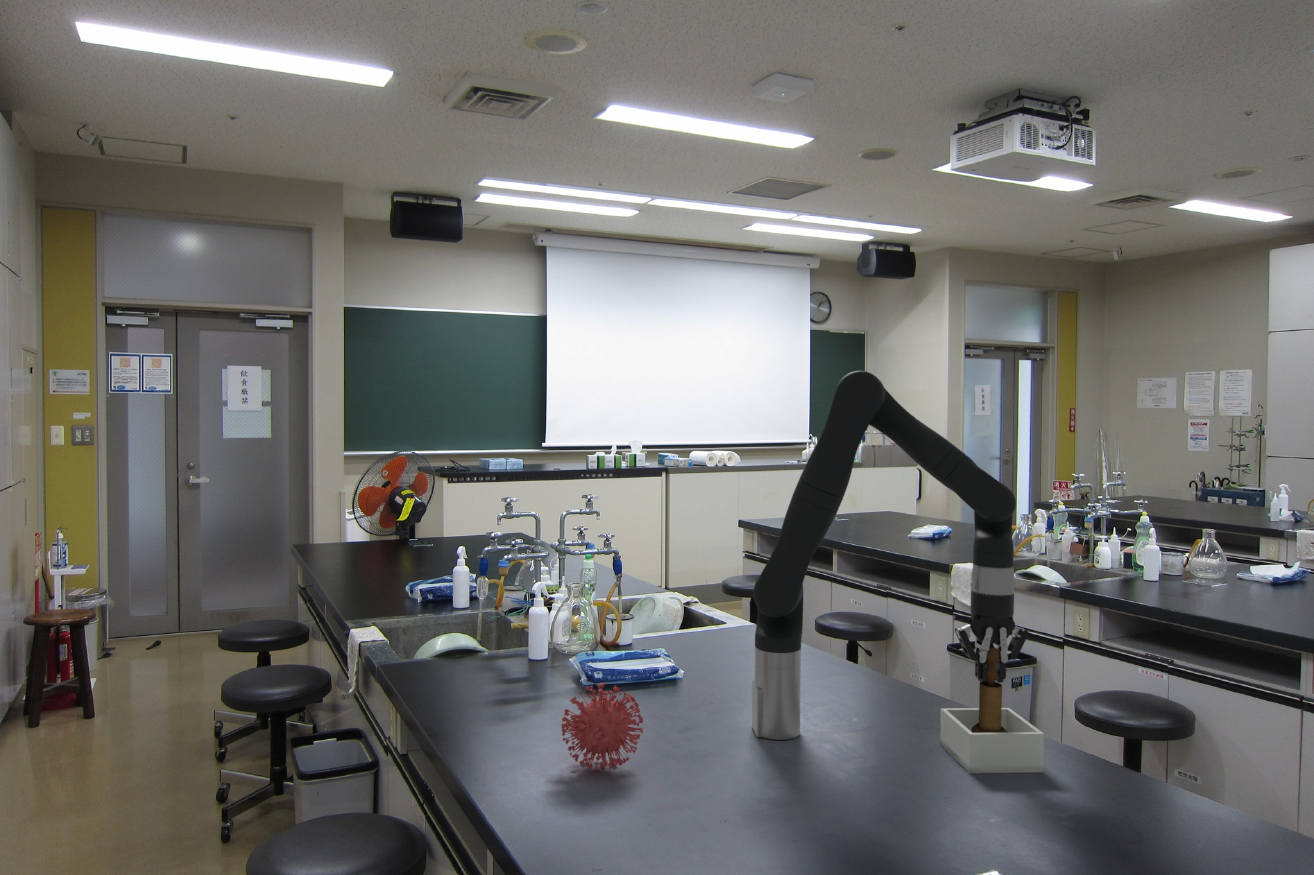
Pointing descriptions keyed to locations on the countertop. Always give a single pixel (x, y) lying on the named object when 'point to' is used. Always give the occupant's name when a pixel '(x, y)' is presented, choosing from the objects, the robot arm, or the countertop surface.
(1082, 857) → the countertop surface
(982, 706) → the mortar and pestle
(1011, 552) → the robot arm
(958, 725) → the box
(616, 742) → the virus model
